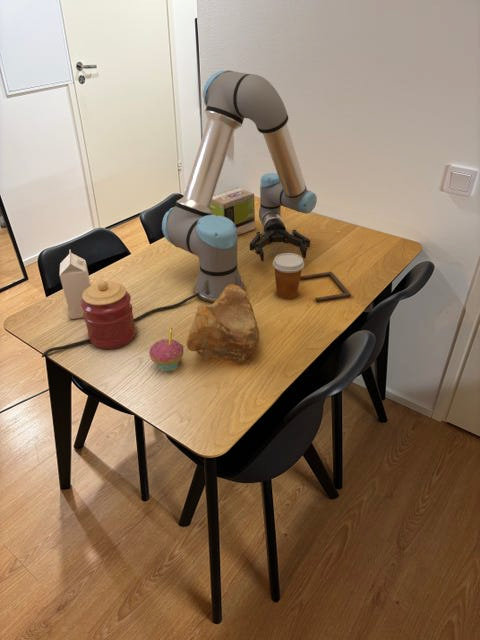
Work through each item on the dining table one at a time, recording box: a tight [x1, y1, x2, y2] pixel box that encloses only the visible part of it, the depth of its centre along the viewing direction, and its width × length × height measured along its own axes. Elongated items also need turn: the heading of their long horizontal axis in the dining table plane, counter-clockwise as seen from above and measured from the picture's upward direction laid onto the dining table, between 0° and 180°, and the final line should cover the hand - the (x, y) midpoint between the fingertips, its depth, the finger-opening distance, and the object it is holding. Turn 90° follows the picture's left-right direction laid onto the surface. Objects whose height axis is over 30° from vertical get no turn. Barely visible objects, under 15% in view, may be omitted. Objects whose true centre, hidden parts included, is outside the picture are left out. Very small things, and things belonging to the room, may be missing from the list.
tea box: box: [210, 187, 256, 236], centre depth 188 cm, size 15×10×15 cm
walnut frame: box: [300, 271, 352, 303], centre depth 157 cm, size 11×15×1 cm
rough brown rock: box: [186, 284, 260, 364], centre depth 127 cm, size 23×17×15 cm
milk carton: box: [59, 249, 92, 320], centre depth 142 cm, size 7×7×19 cm
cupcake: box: [148, 327, 184, 372], centre depth 123 cm, size 9×8×12 cm
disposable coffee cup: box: [272, 252, 305, 300], centre depth 151 cm, size 10×10×12 cm
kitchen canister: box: [81, 279, 137, 350], centre depth 132 cm, size 13×13×18 cm
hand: (283, 256), depth 157 cm, fingers open, 13 cm apart
